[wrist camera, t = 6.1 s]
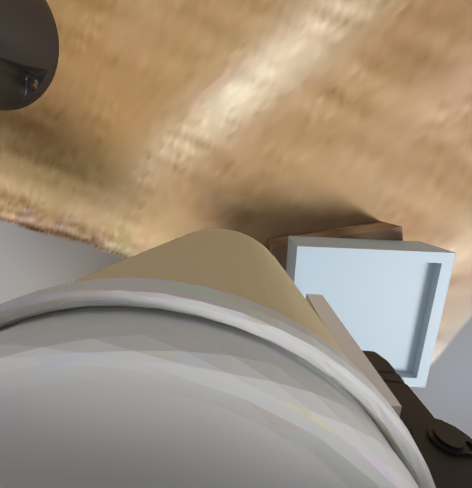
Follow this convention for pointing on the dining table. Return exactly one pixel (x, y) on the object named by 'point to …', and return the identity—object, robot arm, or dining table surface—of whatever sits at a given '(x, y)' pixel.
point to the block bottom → (339, 236)
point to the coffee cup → (190, 381)
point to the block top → (379, 293)
